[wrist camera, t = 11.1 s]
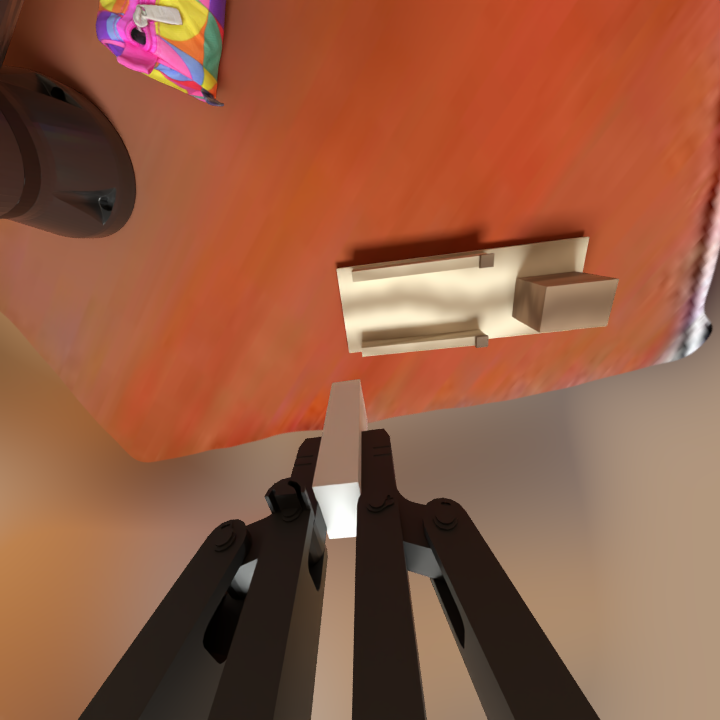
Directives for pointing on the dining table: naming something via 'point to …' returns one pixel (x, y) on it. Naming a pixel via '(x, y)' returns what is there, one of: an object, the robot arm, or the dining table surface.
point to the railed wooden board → (446, 296)
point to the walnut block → (564, 301)
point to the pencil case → (167, 41)
